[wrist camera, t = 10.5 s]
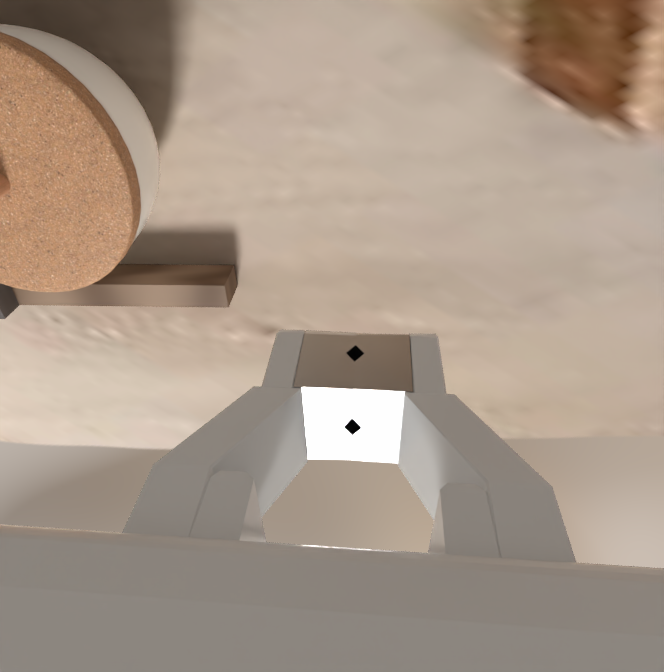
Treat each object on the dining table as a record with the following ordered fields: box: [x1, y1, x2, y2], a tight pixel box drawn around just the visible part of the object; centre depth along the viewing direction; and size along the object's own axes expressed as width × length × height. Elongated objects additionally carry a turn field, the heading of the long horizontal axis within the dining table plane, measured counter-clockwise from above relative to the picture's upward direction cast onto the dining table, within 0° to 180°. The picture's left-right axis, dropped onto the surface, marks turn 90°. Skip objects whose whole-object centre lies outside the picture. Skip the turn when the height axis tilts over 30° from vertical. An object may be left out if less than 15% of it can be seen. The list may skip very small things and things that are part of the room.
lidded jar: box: [0, 24, 160, 292], centre depth 22 cm, size 11×11×9 cm
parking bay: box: [0, 264, 237, 319], centre depth 24 cm, size 14×19×4 cm
